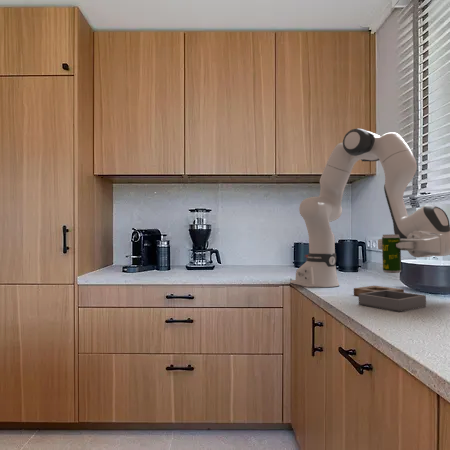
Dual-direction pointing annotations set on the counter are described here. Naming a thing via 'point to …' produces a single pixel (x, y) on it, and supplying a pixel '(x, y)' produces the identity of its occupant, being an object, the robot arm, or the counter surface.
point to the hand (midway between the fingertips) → (388, 245)
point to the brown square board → (374, 289)
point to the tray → (392, 300)
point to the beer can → (391, 254)
